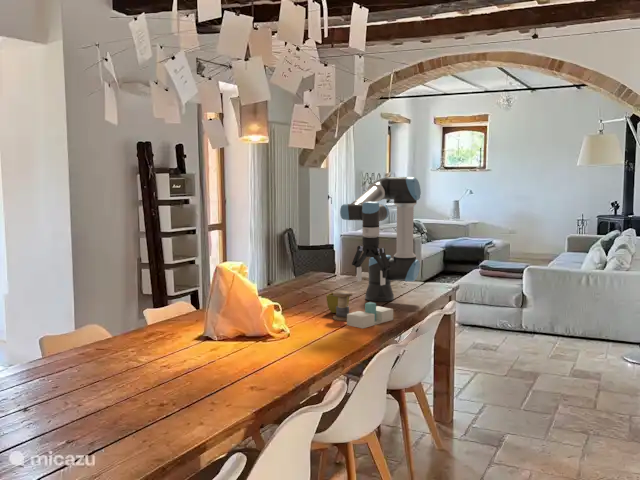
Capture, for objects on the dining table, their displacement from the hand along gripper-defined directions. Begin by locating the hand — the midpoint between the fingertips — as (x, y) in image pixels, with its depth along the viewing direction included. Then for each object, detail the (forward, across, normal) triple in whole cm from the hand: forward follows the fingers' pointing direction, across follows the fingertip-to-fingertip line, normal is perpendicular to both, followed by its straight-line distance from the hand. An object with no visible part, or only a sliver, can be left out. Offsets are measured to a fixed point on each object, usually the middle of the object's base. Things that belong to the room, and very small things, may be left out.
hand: (370, 283), depth 283 cm
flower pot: (+18, -22, +2) cm, 29 cm away
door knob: (+17, -12, -6) cm, 22 cm away
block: (+17, +2, -3) cm, 17 cm away
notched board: (+17, +2, -3) cm, 18 cm away
